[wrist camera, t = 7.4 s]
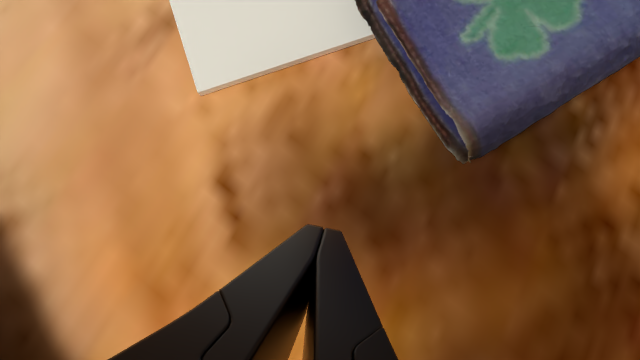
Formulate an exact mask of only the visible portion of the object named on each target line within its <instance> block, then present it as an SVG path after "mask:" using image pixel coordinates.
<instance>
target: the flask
mask: <svg viewBox="0 0 640 360" xmlns="http://www.w3.org/2000/svg"><path fill="white" fill-rule="evenodd" d="M355 2H356V6H357V8H358V11H359V12H360V14H361V16H362V17H363V19H365V20H366V21H367V23H368V26H370V27H371V28H370V29H371V31H372V33H373V34H374V36H375V38H376V39H377V41H378V43H379V44H380V46H381V48H382V49H383V51H384V52H385V54H386V56H387V57H388V60H389V61H390V62H391V64H392V65H393V66H394V67H396V69H397V70H398V71H399V73H400V77H401V80H402V82H403V83H404V84H405V86H406V88H407V91H408V93H409V94H410V96H411V97H412V98H413V101H414V102H415V103H416V104H417V105H418V107H419V108H421V109H420V110H421V111H422V113H423V115H424V116H425V118H426V119H427V120H428V122H429V123H430V125H431V126H432V128H433V129H434V131H435V132H436V134H437V135H438V137H439V138H440V140H441V141H442V142H443V144H444V145H445V147H446V148H447V150H449V151H450V152H451V153H453V154H454V156H455V157H456V159H457V160H458V161H460V162H462V163H463V164H464V163H466V162H467V161H469V162H470V160H472V159H476V158H480V157H482V156H484V155H485V154H487V153H488V152H490V151H492V150H494V149H496V148H497V147H499V146H500V145H501V144H502V143H504V142H506V141H507V140H509V139H511V138H513V137H514V136H516V135H518V134H519V133H521V132H522V131H524V130H525V129H526V128H528V127H529V126H530V125H532V124H533V123H535V122H537V121H538V120H540V119H542V118H544V117H545V116H547V115H549V114H551V113H552V112H553V111H554V110H556V109H557V108H558V107H560V106H561V105H563V104H564V103H566V102H568V101H569V100H571V99H572V98H574V97H575V96H577V95H579V94H580V93H582V92H583V91H585V90H587V89H588V88H590V87H592V86H593V85H595V84H597V83H599V82H600V81H602V80H603V79H605V78H606V77H608V76H609V75H611V74H613V73H615V72H617V71H618V70H620V69H621V68H623V67H624V66H626V65H627V64H629V63H630V62H632V61H633V60H635V59H637V58H638V57H640V0H355ZM470 163H471V162H470Z"/></svg>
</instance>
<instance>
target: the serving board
mask: <svg viewBox="0 0 640 360" xmlns="http://www.w3.org/2000/svg"><path fill="white" fill-rule="evenodd" d="M169 1H170V4H171V7H172V11H173V14H174V17H175V20H176V24H177V27H178V30H179V33H180V37H181V40H182V43H183V46H184V50H185V53H186V56H187V59H188V63H189V66H190V69H191V72H192V76H193V79H194V82H195V85H196V89H197V92H198V93H199V94H200V96H202V95H205V94H208V93H211V92H214V91H217V90H220V89H223V88H226V87H229V86H232V85H235V84H238V83H241V82H244V81H247V80H250V79H253V78H256V77H259V76H262V75H265V74H268V73H271V72H275V71H278V70H281V69H284V68H287V67H290V66H293V65H296V64H299V63H302V62H305V61H308V60H311V59H314V58H317V57H320V56H323V55H326V54H329V53H332V52H335V51H338V50H341V49H344V48H347V47H350V46H353V45H356V44H359V43H362V42H365V41H368V40H371V39H374V38H375V36H374V34H373V33H372V31H371V29H370V28H371V27H370V26H368V23H367V21H366V20H365V19H363V17H362V16H361V14H360V12H359V11H358V8H357V6H356V2H355V0H169Z"/></svg>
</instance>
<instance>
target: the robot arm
mask: <svg viewBox="0 0 640 360" xmlns="http://www.w3.org/2000/svg"><path fill="white" fill-rule="evenodd" d="M307 307H308V309H307ZM306 310H307V316H306V325H305V337H304V349H303V360H398V358H397V356H396V354H395V352H394V350H393V348H392V345H391V343H390V341H389V339H388V337H387V334H386V332H385V330H384V328H383V326H382V324H381V321H380V319H379V317H378V315H377V312H376V310H375V308H374V305H373V303H372V301H371V298H370V296H369V294H368V291H367V289H366V287H365V285H364V282H363V280H362V278H361V275H360V273H359V271H358V268H357V266H356V264H355V261H354V259H353V257H352V255H351V252H350V250H349V248H348V245H347V243H346V241H345V238H344V236H343V234H342V232H341V231H339V230H335V229H330V228H325V229H323V228H322V227H320V226H315V225H311V224H307V225H305V226H304V227H303V228H301V229H300V230H299V231H297V232H296V233H295V234H293V235H292V236H291V237H289V238H288V239H287V240H285V241H284V242H283V243H281V244H280V245H279V246H277V247H276V248H275V249H273V250H272V251H271V252H269V253H268V254H267V255H265V256H264V257H263V258H261V259H260V260H259V261H257V262H256V263H255V264H253V265H252V266H251V267H249V268H248V269H247V270H245V271H244V272H243V273H241V274H240V275H239V276H237V277H236V278H235V279H233V280H232V281H231V282H229V283H228V284H227V285H225V286H224V287H223V288H221V289H220V290H219V291H217V292H215V293H214V294H213V295H211V296H210V297H209V298H207V299H206V300H204V301H203V302H202V303H200V304H199V305H197V306H196V307H195V308H193V309H192V310H190V311H189V312H187V313H186V314H184V315H182V316H181V317H179V318H178V319H176V320H174V321H173V322H171V323H170V324H168V325H166V326H165V327H163V328H161V329H159V330H158V331H156V332H154V333H153V334H151V335H149V336H147V337H146V338H144V339H142V340H141V341H139V342H137V343H136V344H134V345H132V346H130V347H129V348H127V349H125V350H124V351H122V352H120V353H118V354H117V355H115V356H113V357H112V358H110V359H108V360H288V358H289V355H290V353H291V350H292V348H293V345H294V342H295V340H296V337H297V335H298V332H299V330H300V327H301V324H302V322H303V319H304V316H305V314H306Z"/></svg>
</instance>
